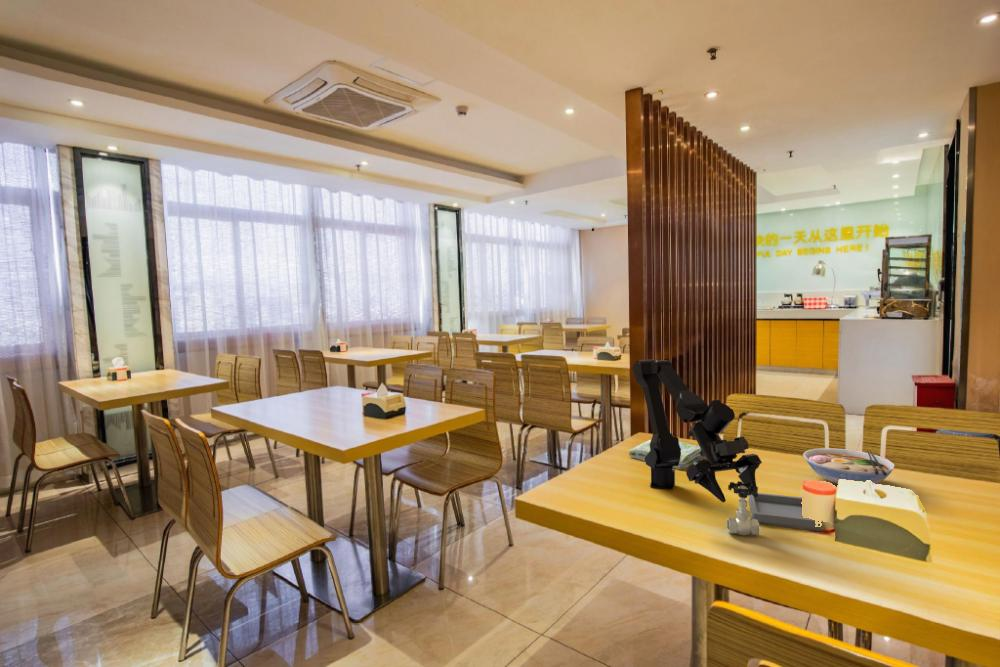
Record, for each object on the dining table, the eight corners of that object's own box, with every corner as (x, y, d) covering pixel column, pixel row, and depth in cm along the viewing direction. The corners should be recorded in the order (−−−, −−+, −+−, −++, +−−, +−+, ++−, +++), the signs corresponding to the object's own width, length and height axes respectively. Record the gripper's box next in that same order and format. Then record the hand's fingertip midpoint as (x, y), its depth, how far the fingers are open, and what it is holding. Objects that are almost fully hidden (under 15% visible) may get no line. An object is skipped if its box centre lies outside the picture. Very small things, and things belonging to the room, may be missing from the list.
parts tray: (753, 523, 129) (753, 513, 128) (748, 500, 143) (748, 491, 142) (822, 531, 123) (822, 521, 123) (810, 507, 137) (810, 498, 137)
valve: (761, 542, 119) (761, 492, 118) (731, 540, 120) (731, 490, 119) (753, 529, 125) (753, 481, 125) (724, 527, 127) (725, 480, 126)
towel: (683, 472, 168) (683, 456, 168) (627, 458, 184) (627, 444, 183) (708, 459, 180) (708, 445, 180) (654, 447, 196) (654, 434, 195)
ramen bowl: (802, 465, 170) (803, 441, 169) (888, 475, 158) (888, 450, 158) (802, 490, 149) (803, 463, 148) (901, 505, 137) (902, 475, 136)
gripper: (692, 429, 125) (723, 489, 115) (756, 422, 129) (791, 479, 120) (674, 452, 133) (701, 509, 123) (734, 444, 138) (765, 499, 128)
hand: (740, 499), depth 123 cm, fingers open, 9 cm apart
